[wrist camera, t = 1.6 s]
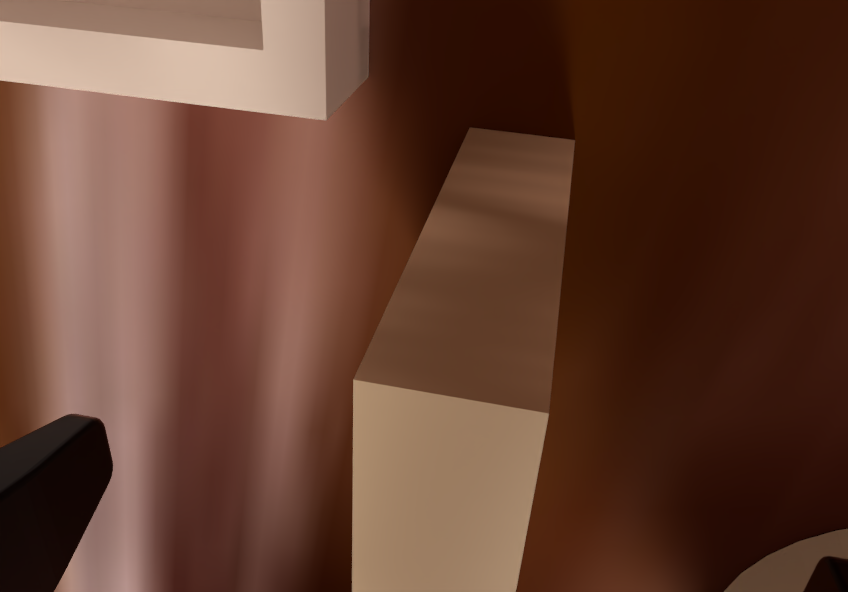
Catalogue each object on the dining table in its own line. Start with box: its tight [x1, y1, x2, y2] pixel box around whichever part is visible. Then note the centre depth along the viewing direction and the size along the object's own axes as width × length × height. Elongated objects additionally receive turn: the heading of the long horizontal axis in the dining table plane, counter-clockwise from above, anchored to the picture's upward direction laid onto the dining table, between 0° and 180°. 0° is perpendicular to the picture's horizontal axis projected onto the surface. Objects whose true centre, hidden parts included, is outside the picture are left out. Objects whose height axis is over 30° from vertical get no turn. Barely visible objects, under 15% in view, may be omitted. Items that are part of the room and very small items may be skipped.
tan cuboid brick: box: [352, 127, 575, 592], centre depth 12 cm, size 2×4×8 cm, turn 178°
